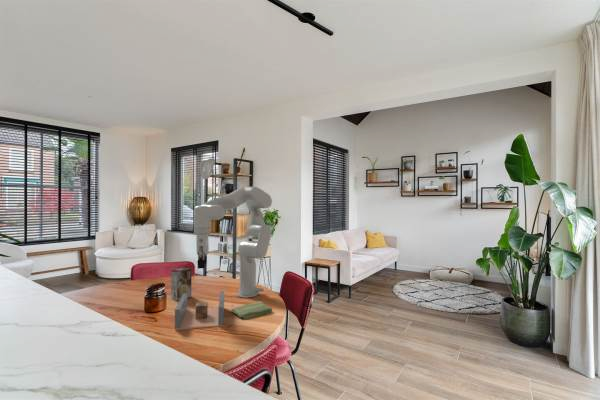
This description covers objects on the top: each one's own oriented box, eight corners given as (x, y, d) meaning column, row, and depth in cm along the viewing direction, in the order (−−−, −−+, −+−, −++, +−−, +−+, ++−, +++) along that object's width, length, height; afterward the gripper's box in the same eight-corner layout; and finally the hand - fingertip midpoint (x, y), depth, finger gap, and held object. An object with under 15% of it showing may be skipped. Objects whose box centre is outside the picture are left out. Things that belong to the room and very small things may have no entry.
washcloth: (229, 312, 153) (230, 306, 153) (261, 306, 163) (261, 299, 163) (240, 321, 143) (240, 314, 143) (273, 313, 153) (273, 307, 153)
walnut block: (207, 314, 147) (207, 301, 147) (206, 318, 143) (206, 305, 143) (196, 315, 146) (196, 302, 146) (195, 319, 141) (195, 306, 141)
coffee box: (185, 294, 180) (185, 267, 180) (191, 296, 176) (192, 268, 176) (170, 298, 172) (170, 269, 172) (176, 300, 168) (177, 271, 168)
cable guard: (224, 308, 158) (224, 291, 158) (222, 327, 135) (223, 306, 135) (182, 311, 153) (183, 293, 153) (174, 330, 131) (174, 309, 131)
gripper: (208, 233, 142) (208, 269, 142) (211, 228, 159) (211, 261, 159) (191, 233, 141) (191, 270, 141) (196, 229, 157) (196, 262, 158)
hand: (202, 265), depth 150 cm, fingers open, 9 cm apart
